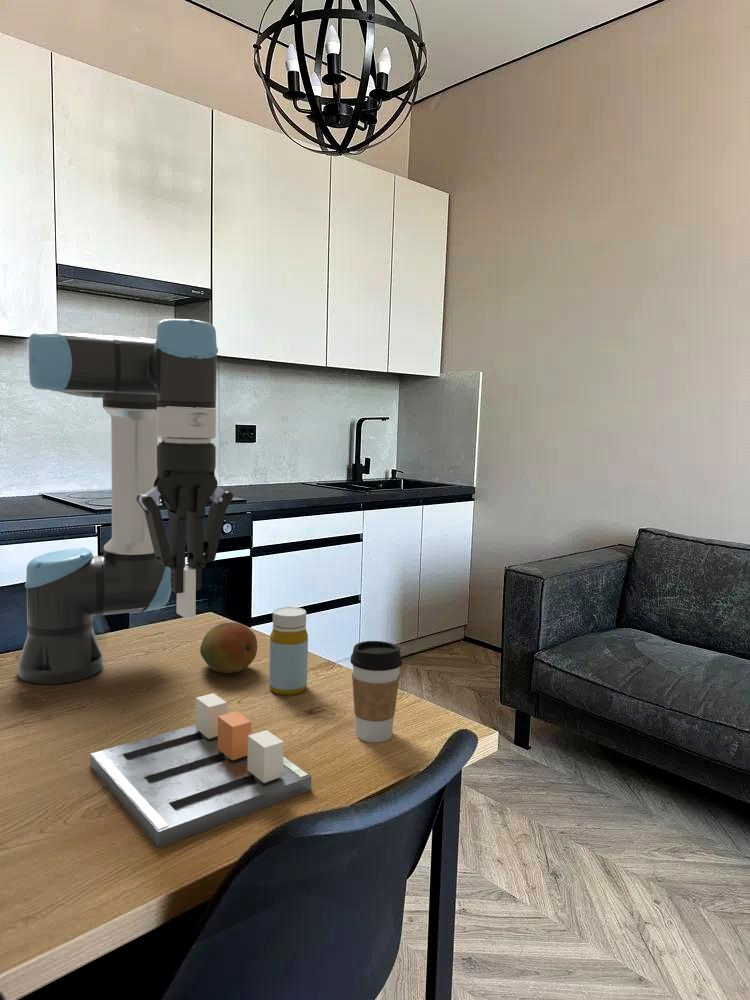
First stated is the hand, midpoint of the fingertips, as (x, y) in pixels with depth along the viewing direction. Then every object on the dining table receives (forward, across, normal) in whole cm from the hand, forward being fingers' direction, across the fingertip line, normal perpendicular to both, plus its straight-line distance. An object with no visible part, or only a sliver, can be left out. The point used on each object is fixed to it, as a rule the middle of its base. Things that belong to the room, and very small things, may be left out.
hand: (186, 614), depth 96 cm
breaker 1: (+23, +8, +8) cm, 25 cm away
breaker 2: (+23, +8, -8) cm, 25 cm away
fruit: (+25, +25, +35) cm, 49 cm away
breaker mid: (+23, +8, 0) cm, 24 cm away
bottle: (+24, +30, +20) cm, 43 cm away
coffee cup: (+24, +31, -4) cm, 40 cm away
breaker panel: (+24, +2, 0) cm, 24 cm away
